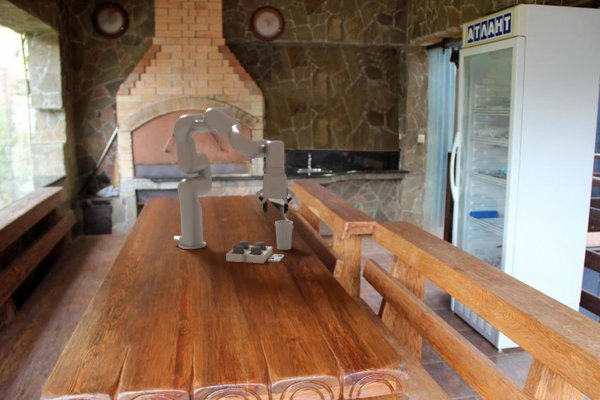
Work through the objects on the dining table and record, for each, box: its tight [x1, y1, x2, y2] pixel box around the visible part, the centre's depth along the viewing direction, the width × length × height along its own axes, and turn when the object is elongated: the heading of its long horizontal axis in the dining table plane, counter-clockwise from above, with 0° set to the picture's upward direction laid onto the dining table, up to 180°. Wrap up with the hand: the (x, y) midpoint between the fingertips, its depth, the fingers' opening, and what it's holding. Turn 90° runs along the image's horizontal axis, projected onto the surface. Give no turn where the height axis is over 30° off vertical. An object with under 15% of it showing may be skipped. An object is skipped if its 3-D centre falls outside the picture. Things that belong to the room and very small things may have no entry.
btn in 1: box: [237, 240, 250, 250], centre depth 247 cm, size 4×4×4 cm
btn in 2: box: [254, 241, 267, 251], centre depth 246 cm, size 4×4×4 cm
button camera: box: [251, 245, 261, 255], centre depth 239 cm, size 4×4×4 cm
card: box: [267, 253, 285, 263], centre depth 241 cm, size 5×9×1 cm, turn 169°
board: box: [225, 245, 273, 264], centre depth 244 cm, size 16×15×3 cm
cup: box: [274, 219, 294, 251], centre depth 257 cm, size 8×8×12 cm
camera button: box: [232, 244, 244, 254], centre depth 240 cm, size 4×4×4 cm
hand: (275, 212), depth 238 cm, fingers open, 7 cm apart
